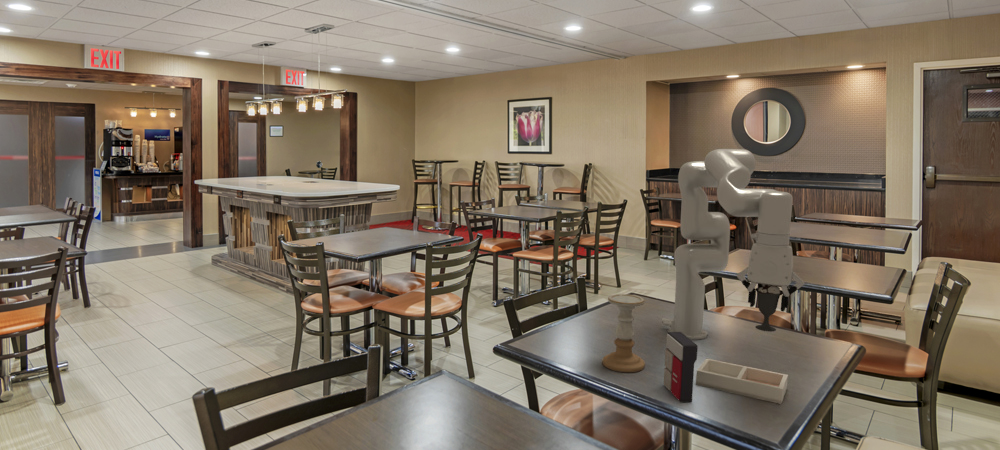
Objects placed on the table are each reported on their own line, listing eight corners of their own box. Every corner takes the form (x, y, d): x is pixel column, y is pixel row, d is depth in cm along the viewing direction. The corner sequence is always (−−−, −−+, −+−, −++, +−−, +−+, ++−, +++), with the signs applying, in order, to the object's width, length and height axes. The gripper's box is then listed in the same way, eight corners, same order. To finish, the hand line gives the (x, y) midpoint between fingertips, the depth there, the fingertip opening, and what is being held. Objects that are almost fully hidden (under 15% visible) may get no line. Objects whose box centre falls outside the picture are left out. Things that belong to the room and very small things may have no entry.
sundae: (783, 333, 144) (788, 275, 142) (755, 331, 145) (759, 274, 143) (776, 325, 150) (781, 270, 148) (749, 323, 152) (753, 268, 150)
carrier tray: (695, 384, 154) (696, 370, 153) (705, 371, 163) (706, 358, 162) (781, 404, 143) (782, 389, 142) (786, 389, 152) (788, 374, 151)
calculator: (661, 385, 153) (664, 331, 151) (677, 384, 154) (680, 331, 152) (677, 403, 143) (681, 345, 141) (694, 402, 143) (697, 345, 141)
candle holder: (594, 360, 171) (596, 295, 168) (628, 355, 176) (631, 291, 173) (618, 375, 160) (621, 305, 157) (653, 369, 164) (657, 301, 162)
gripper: (733, 238, 146) (729, 305, 149) (809, 245, 137) (803, 317, 139) (739, 235, 153) (734, 299, 155) (812, 241, 143) (806, 310, 146)
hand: (767, 307), depth 147 cm, fingers closed on sundae, 6 cm apart
